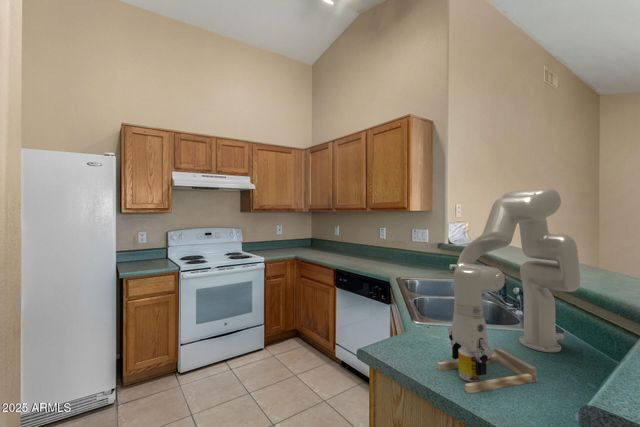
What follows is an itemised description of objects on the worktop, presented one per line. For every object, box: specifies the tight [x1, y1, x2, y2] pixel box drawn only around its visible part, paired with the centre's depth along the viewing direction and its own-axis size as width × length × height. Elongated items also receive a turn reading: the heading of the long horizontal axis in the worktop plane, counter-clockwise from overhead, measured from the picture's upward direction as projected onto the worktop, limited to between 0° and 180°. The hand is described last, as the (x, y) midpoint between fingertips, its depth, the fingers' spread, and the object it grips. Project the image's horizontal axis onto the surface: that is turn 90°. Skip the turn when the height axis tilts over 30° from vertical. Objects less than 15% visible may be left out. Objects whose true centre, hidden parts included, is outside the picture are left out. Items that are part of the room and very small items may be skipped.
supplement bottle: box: [457, 346, 480, 383], centre depth 87 cm, size 6×6×10 cm
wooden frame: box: [436, 347, 538, 394], centre depth 89 cm, size 24×13×4 cm, turn 104°
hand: (468, 366), depth 87 cm, fingers open, 9 cm apart
